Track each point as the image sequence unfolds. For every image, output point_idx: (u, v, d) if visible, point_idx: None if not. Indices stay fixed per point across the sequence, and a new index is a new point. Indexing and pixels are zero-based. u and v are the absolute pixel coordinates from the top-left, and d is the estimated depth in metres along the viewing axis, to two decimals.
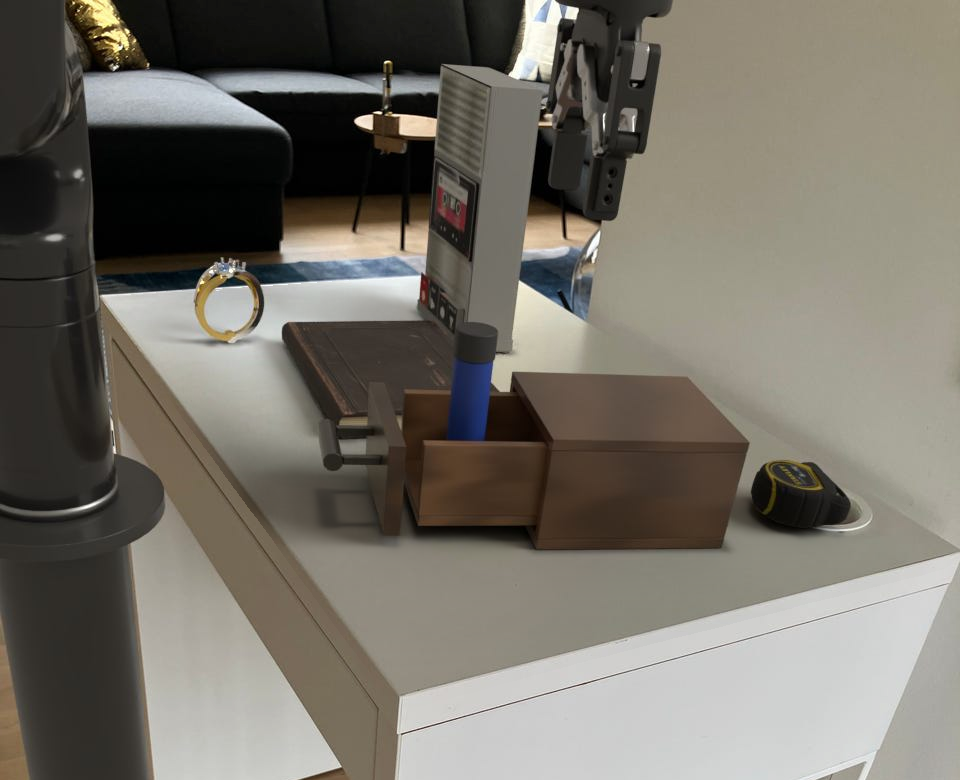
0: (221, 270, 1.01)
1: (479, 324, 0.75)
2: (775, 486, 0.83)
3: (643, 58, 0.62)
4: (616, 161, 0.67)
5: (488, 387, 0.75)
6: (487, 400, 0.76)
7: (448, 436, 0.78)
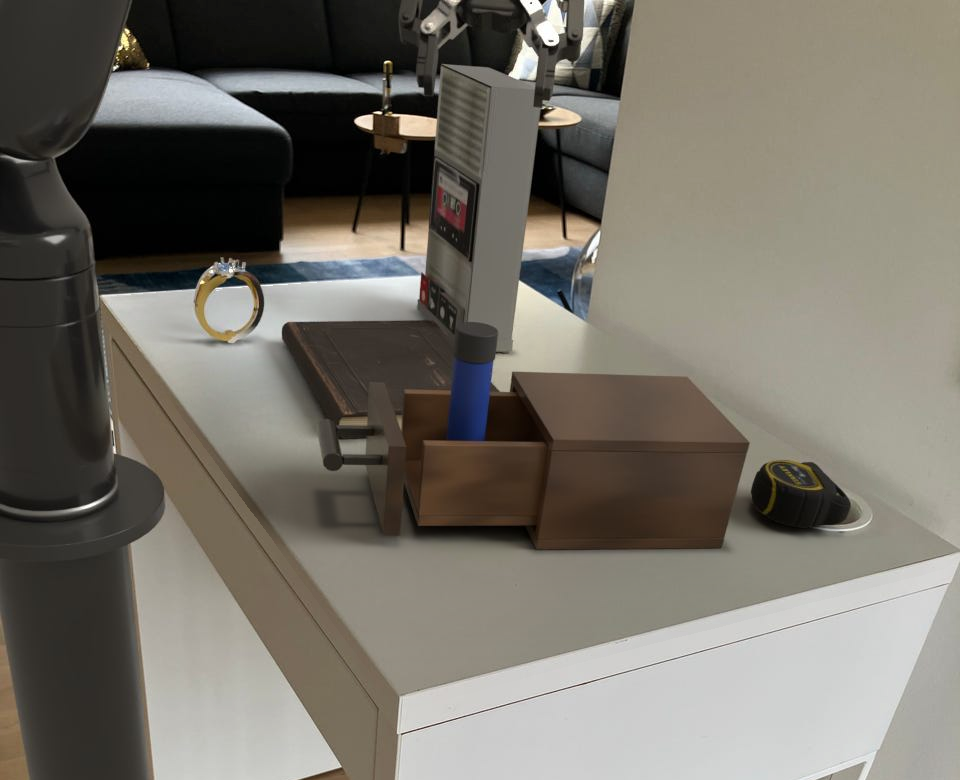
0: (221, 270, 1.01)
1: (479, 324, 0.75)
2: (775, 486, 0.83)
3: None
4: (557, 59, 0.82)
5: (488, 387, 0.75)
6: (487, 400, 0.76)
7: (448, 436, 0.78)
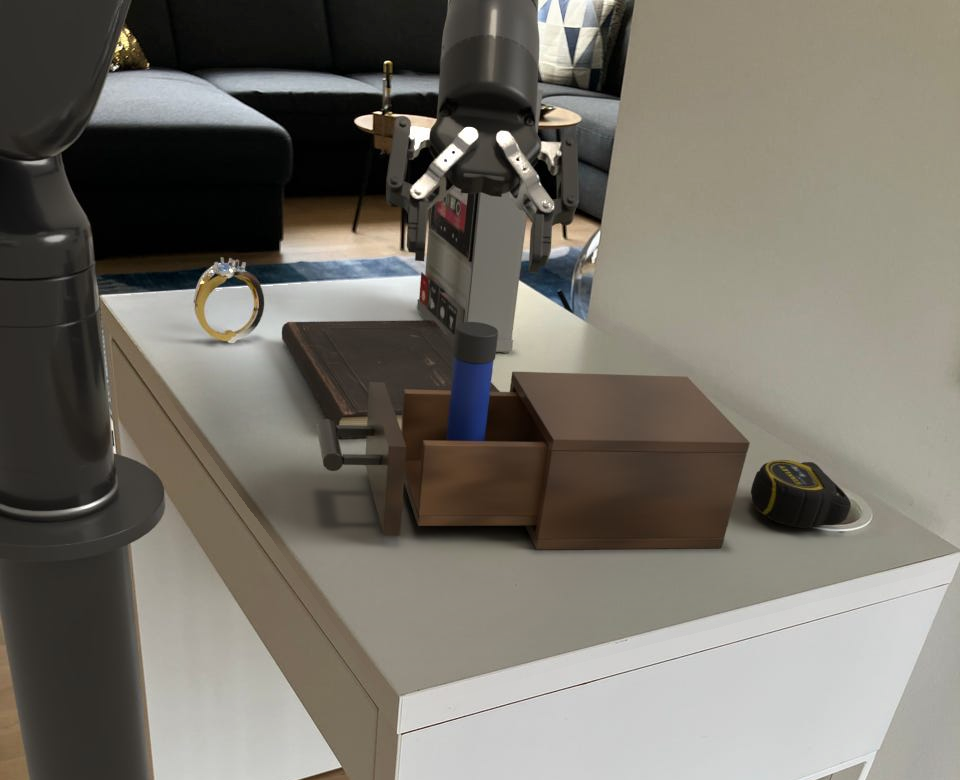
0: (221, 270, 1.01)
1: (479, 324, 0.75)
2: (775, 486, 0.83)
3: None
4: (551, 224, 0.80)
5: (488, 387, 0.75)
6: (487, 400, 0.76)
7: (448, 436, 0.78)
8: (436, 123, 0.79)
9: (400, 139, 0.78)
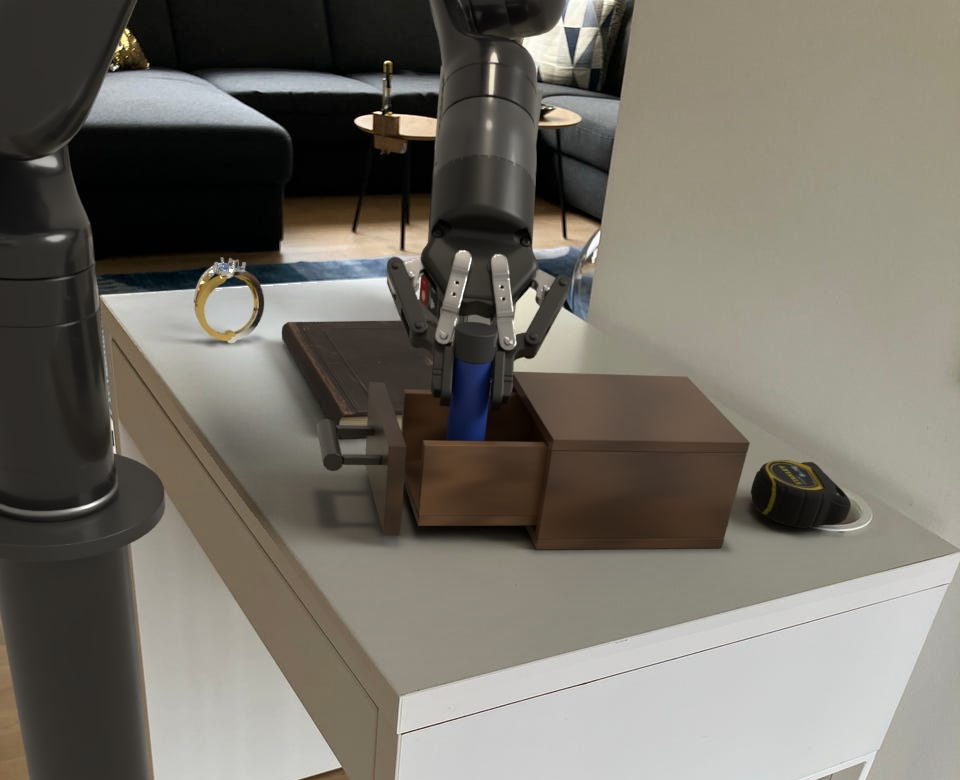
0: (221, 270, 1.01)
1: (479, 324, 0.75)
2: (775, 486, 0.83)
3: (565, 297, 0.77)
4: (513, 359, 0.76)
5: (488, 387, 0.75)
6: (487, 400, 0.76)
7: (448, 436, 0.78)
8: (428, 244, 0.76)
9: (402, 281, 0.75)
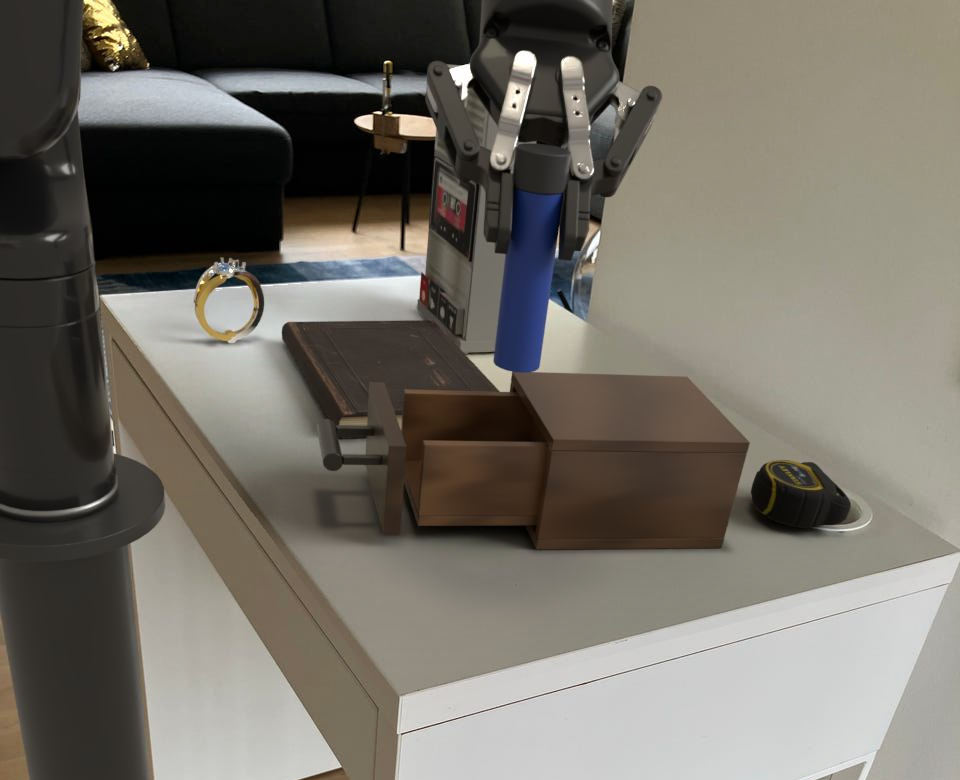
0: (221, 270, 1.01)
1: (546, 145, 0.58)
2: (775, 486, 0.83)
3: (653, 119, 0.60)
4: None
5: (556, 229, 0.59)
6: (555, 248, 0.60)
7: (503, 297, 0.61)
8: (479, 47, 0.59)
9: (447, 91, 0.58)
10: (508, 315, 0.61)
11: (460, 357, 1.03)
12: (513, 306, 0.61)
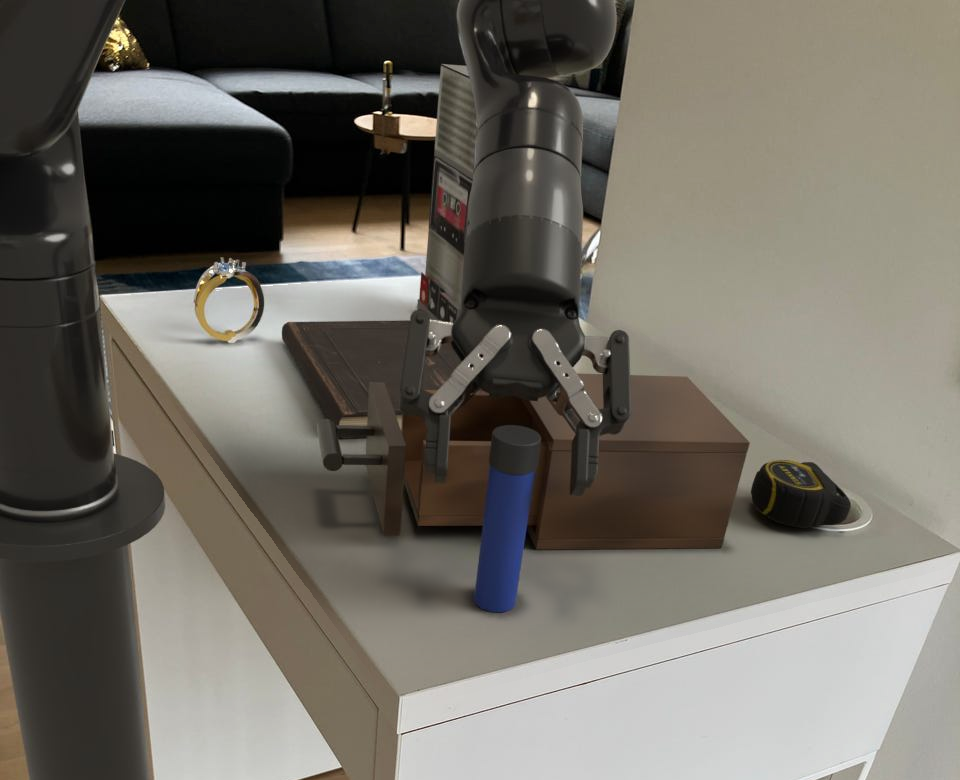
0: (221, 270, 1.01)
1: (519, 428, 0.65)
2: (775, 486, 0.83)
3: None
4: None
5: (529, 499, 0.66)
6: (527, 513, 0.67)
7: (482, 550, 0.68)
8: (460, 317, 0.66)
9: (417, 338, 0.65)
10: (486, 566, 0.68)
11: None
12: (491, 560, 0.68)
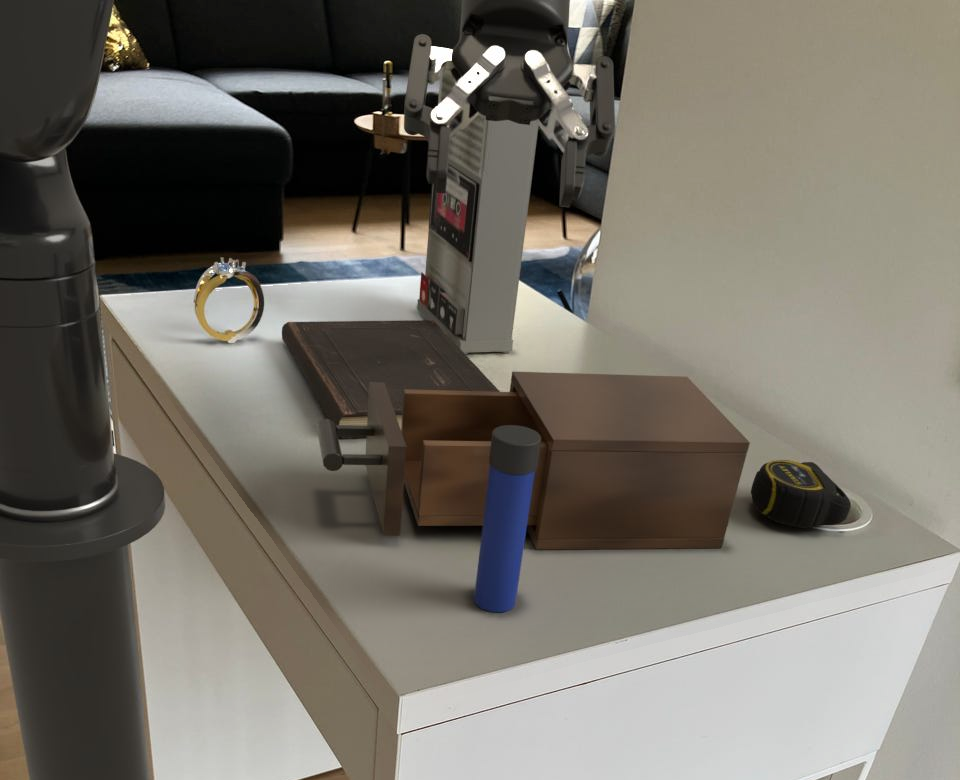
0: (221, 270, 1.01)
1: (519, 428, 0.65)
2: (775, 486, 0.83)
3: None
4: None
5: (529, 499, 0.66)
6: (527, 513, 0.67)
7: (482, 550, 0.68)
8: (459, 42, 0.72)
9: (420, 59, 0.71)
10: (486, 566, 0.68)
11: (460, 357, 1.03)
12: (491, 560, 0.68)
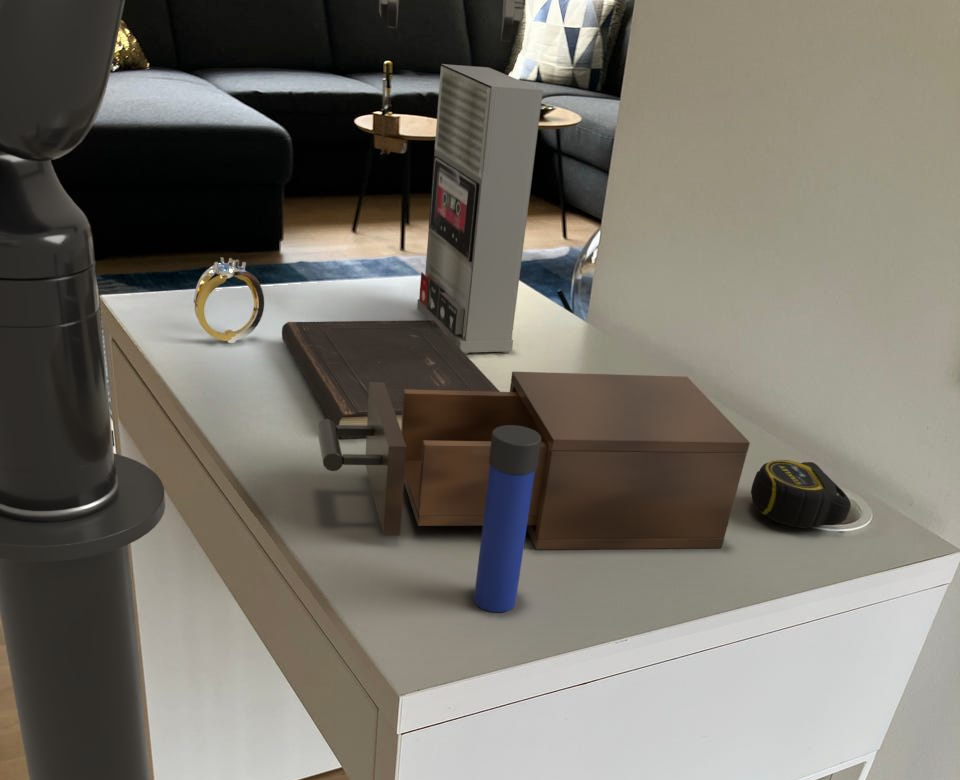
0: (221, 270, 1.01)
1: (519, 428, 0.65)
2: (775, 486, 0.83)
3: None
4: None
5: (529, 499, 0.66)
6: (527, 513, 0.67)
7: (482, 550, 0.68)
8: None
9: None
10: (486, 566, 0.68)
11: (460, 357, 1.03)
12: (491, 560, 0.68)
